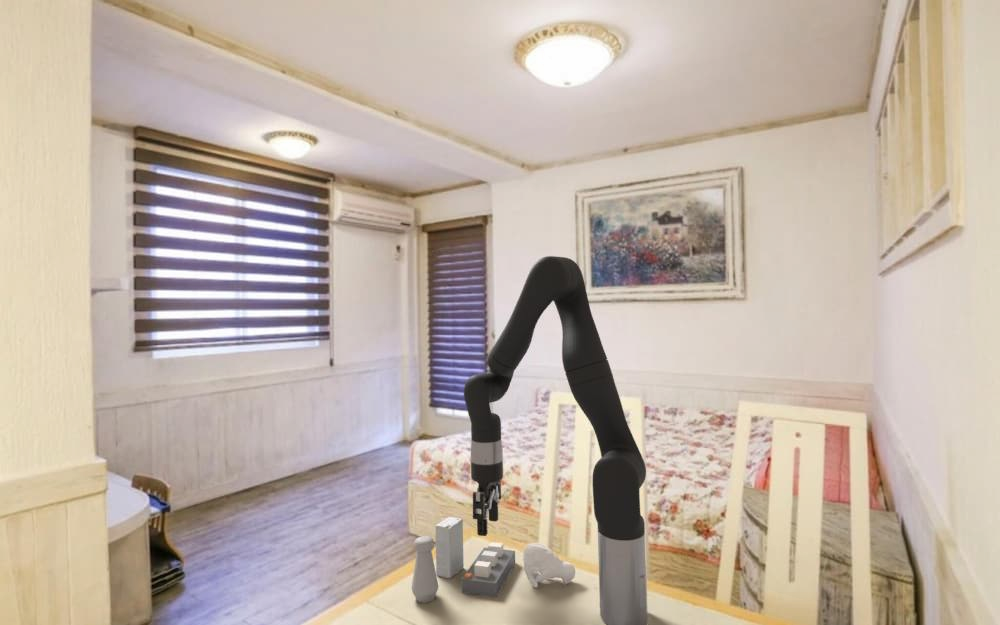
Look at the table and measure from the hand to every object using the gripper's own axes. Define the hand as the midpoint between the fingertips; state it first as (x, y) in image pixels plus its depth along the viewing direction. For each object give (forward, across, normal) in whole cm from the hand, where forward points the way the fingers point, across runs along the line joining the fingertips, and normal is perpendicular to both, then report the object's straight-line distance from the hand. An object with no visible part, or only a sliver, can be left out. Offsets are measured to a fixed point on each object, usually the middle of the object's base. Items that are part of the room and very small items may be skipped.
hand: (488, 527), depth 123 cm
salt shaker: (+12, -12, +11) cm, 20 cm away
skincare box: (+12, 0, +10) cm, 15 cm away
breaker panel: (+12, 0, 0) cm, 12 cm away
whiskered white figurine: (+12, +1, -14) cm, 18 cm away
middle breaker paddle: (+8, 0, 0) cm, 8 cm away
